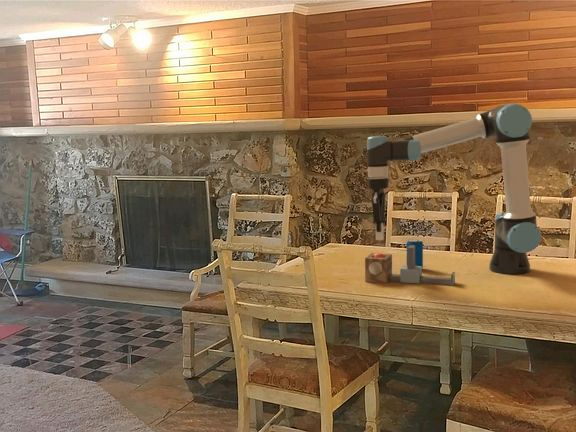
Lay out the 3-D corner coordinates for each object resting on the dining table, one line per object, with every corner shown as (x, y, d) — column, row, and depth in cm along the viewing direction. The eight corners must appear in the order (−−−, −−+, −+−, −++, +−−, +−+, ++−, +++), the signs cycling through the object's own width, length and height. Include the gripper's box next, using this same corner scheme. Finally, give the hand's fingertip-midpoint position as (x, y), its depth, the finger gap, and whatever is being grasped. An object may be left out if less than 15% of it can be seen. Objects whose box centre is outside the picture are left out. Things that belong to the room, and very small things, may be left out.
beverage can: (422, 271, 246) (423, 241, 245) (406, 270, 248) (406, 241, 246) (422, 267, 253) (422, 238, 251) (406, 267, 254) (406, 238, 252)
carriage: (422, 279, 232) (422, 245, 230) (419, 283, 227) (419, 248, 225) (403, 278, 235) (403, 244, 233) (400, 282, 229) (400, 247, 227)
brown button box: (392, 276, 239) (391, 254, 237) (386, 283, 229) (385, 259, 228) (371, 275, 242) (371, 253, 240) (365, 281, 232) (364, 258, 231)
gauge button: (384, 267, 236) (384, 253, 235) (382, 270, 233) (382, 255, 232) (375, 267, 237) (375, 252, 236) (373, 269, 234) (372, 254, 233)
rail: (454, 282, 227) (455, 272, 227) (453, 285, 223) (453, 275, 222) (390, 278, 236) (390, 268, 236) (387, 281, 232) (387, 271, 231)
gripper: (372, 176, 237) (374, 236, 241) (363, 179, 225) (365, 242, 229) (391, 176, 234) (393, 236, 238) (384, 179, 222) (385, 243, 226)
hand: (379, 239), depth 233 cm, fingers closed
